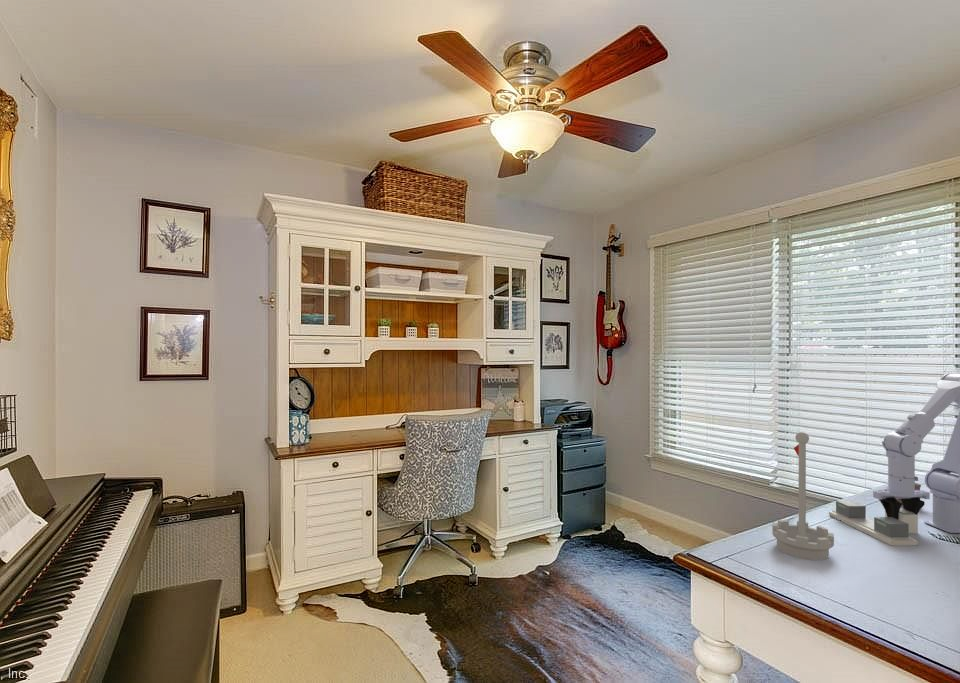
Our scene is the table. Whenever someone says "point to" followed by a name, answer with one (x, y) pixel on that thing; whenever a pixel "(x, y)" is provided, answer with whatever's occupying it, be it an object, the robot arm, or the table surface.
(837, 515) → the board
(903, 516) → the module block
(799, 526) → the flag stand
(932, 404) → the robot arm
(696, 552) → the table surface
